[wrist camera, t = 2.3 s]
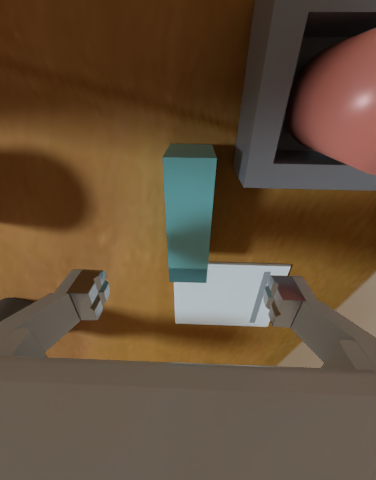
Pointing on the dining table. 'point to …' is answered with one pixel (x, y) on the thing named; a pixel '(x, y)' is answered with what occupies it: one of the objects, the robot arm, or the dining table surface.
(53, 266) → the dining table surface
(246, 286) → the sketch sheet
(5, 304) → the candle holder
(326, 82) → the button
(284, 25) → the button box
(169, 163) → the teal rectangular block
